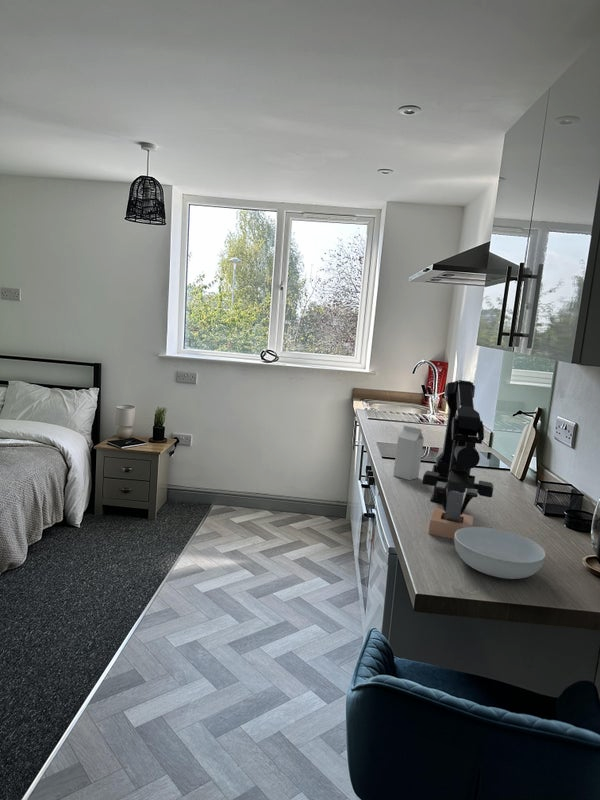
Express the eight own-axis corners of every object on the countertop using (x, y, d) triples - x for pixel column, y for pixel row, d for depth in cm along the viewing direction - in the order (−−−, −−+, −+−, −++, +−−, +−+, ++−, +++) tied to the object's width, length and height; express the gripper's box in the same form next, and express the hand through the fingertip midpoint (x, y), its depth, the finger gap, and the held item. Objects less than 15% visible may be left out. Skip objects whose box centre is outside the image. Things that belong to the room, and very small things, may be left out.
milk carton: (410, 480, 201) (417, 430, 198) (392, 475, 205) (399, 426, 202) (418, 477, 207) (425, 428, 204) (401, 472, 211) (408, 424, 208)
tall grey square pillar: (444, 521, 157) (449, 487, 156) (458, 524, 156) (464, 490, 154) (443, 525, 153) (448, 491, 152) (458, 528, 152) (463, 494, 151)
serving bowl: (521, 555, 143) (526, 530, 142) (555, 595, 123) (561, 567, 122) (442, 546, 144) (446, 521, 143) (462, 584, 123) (467, 556, 122)
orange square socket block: (432, 520, 162) (434, 508, 161) (471, 529, 158) (473, 516, 158) (428, 533, 151) (430, 519, 151) (469, 542, 148) (471, 528, 147)
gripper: (423, 459, 147) (415, 514, 150) (496, 472, 141) (487, 529, 144) (428, 451, 158) (421, 502, 160) (496, 463, 152) (487, 516, 154)
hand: (453, 512), depth 154 cm, fingers closed on tall grey square pillar, 4 cm apart
